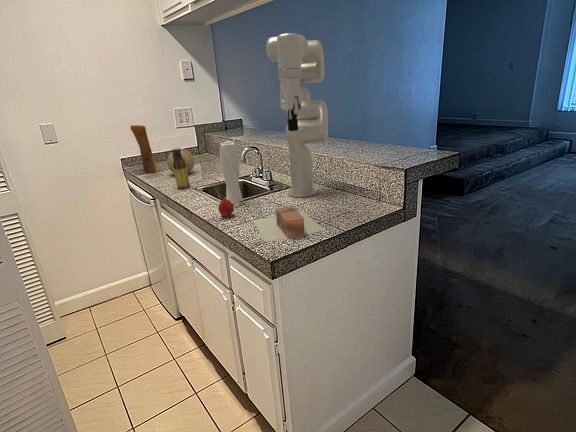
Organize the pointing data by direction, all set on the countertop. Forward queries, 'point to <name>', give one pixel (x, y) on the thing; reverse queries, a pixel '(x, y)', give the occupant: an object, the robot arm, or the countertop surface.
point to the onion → (226, 207)
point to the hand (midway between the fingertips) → (293, 130)
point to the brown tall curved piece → (144, 148)
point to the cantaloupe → (187, 158)
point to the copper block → (290, 221)
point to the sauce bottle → (180, 170)
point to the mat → (274, 232)
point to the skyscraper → (230, 170)
